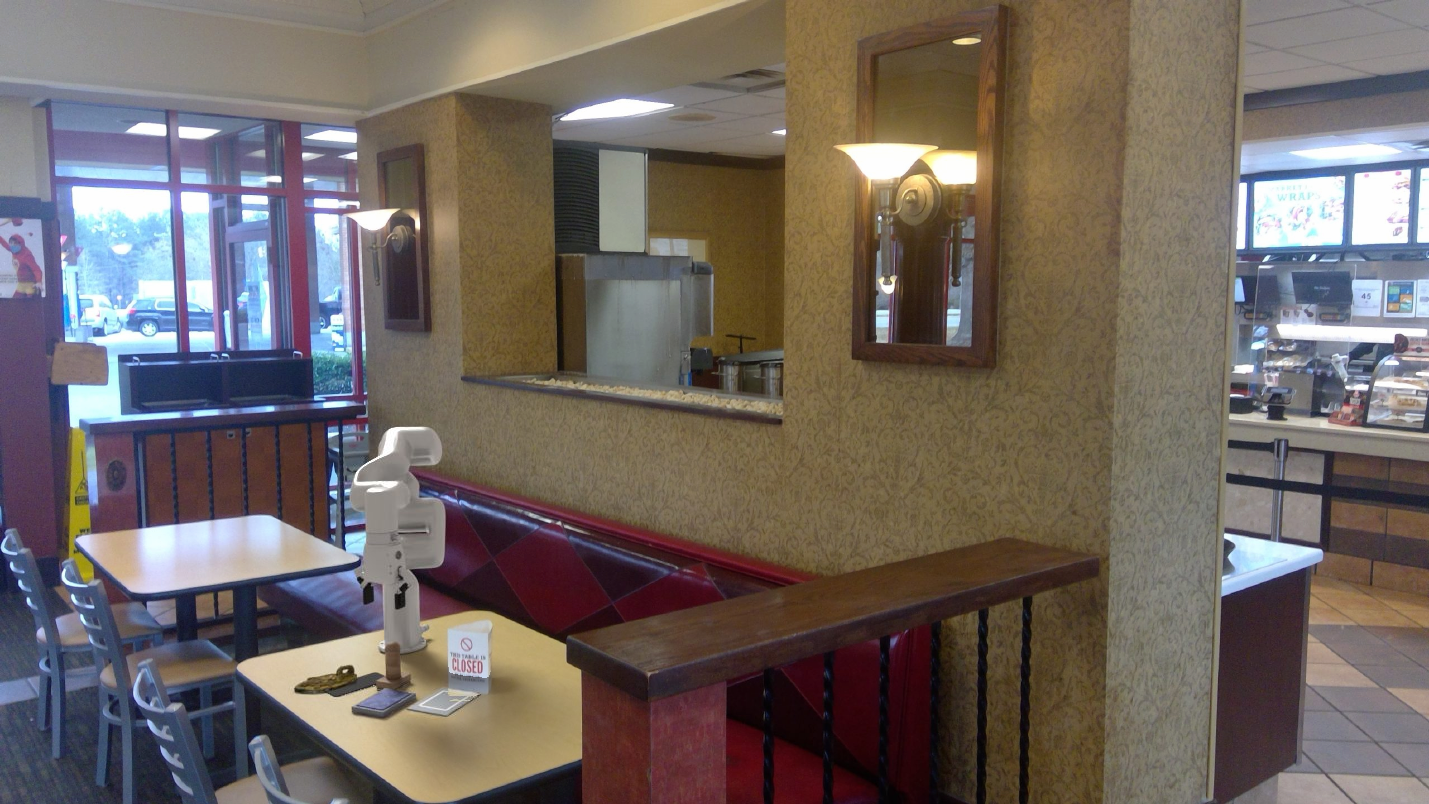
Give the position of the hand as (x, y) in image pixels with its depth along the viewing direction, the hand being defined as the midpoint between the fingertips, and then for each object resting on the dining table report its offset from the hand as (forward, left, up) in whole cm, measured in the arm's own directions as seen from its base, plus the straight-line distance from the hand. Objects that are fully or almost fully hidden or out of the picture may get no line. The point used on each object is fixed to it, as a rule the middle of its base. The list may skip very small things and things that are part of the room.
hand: (384, 605), depth 248 cm
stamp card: (+3, +19, -21) cm, 28 cm away
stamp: (-1, +1, -21) cm, 21 cm away
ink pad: (+10, +7, -21) cm, 24 cm away
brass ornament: (+5, -15, -21) cm, 26 cm away
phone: (+2, -8, -21) cm, 23 cm away
